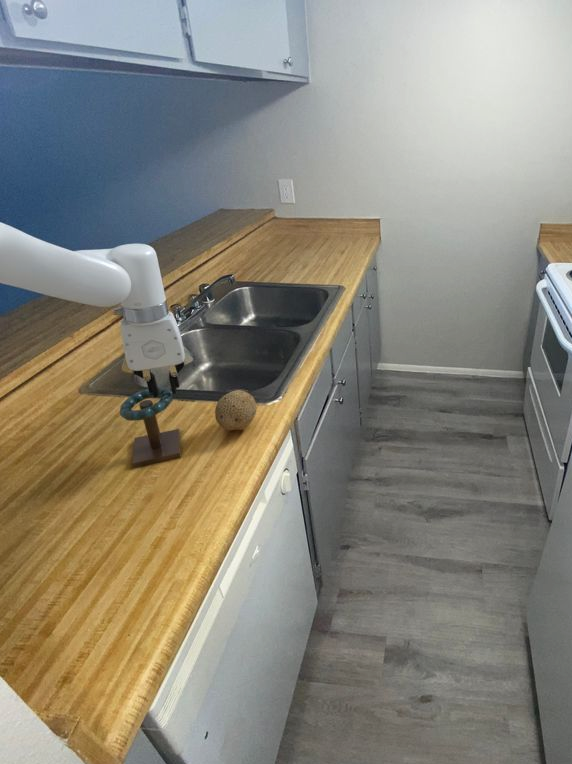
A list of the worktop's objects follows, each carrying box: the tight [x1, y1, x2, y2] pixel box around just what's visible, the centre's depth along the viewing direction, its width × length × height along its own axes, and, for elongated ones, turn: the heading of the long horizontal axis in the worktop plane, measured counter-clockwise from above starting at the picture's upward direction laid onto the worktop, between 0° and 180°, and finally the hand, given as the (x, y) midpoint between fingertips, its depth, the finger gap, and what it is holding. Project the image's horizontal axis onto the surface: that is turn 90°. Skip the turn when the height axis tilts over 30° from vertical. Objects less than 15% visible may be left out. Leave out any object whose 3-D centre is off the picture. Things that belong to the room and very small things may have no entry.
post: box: [131, 399, 182, 468], centre depth 100 cm, size 9×9×12 cm
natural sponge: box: [214, 389, 258, 431], centre depth 108 cm, size 9×9×10 cm
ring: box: [119, 386, 174, 422], centre depth 97 cm, size 10×10×2 cm
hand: (165, 391), depth 98 cm, fingers closed
